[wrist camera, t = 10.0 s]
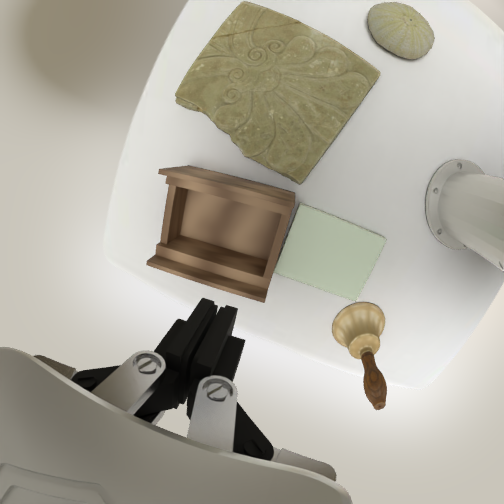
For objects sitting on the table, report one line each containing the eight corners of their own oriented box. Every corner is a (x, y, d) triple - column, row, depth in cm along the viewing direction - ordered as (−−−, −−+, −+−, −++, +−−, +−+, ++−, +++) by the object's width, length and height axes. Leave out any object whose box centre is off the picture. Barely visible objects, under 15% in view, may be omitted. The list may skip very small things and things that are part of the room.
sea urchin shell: (356, -4, 20) (408, -15, 14) (385, 19, 24) (431, 14, 18) (366, 49, 23) (425, 42, 17) (393, 68, 27) (443, 66, 21)
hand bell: (320, 333, 39) (326, 418, 24) (354, 292, 36) (382, 371, 21) (361, 353, 39) (378, 433, 24) (394, 316, 36) (430, 392, 21)
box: (295, 192, 32) (294, 203, 25) (271, 272, 36) (264, 302, 29) (188, 165, 33) (159, 169, 26) (174, 243, 37) (146, 265, 30)
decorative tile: (246, 7, 25) (241, -5, 22) (377, 78, 26) (385, 71, 23) (170, 110, 32) (158, 106, 28) (298, 190, 33) (299, 193, 30)
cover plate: (382, 235, 33) (386, 239, 31) (353, 295, 36) (355, 301, 35) (299, 201, 33) (300, 204, 32) (274, 267, 37) (273, 272, 35)
